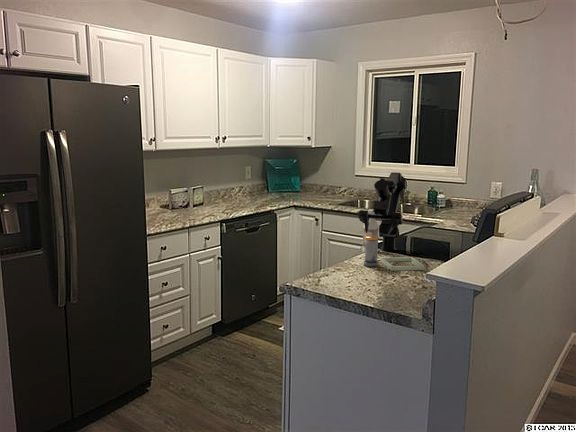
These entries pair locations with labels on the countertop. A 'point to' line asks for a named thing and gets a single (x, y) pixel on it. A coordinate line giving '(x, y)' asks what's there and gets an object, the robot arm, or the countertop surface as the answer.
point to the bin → (392, 268)
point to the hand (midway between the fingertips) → (376, 233)
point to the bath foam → (370, 229)
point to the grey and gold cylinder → (371, 251)
